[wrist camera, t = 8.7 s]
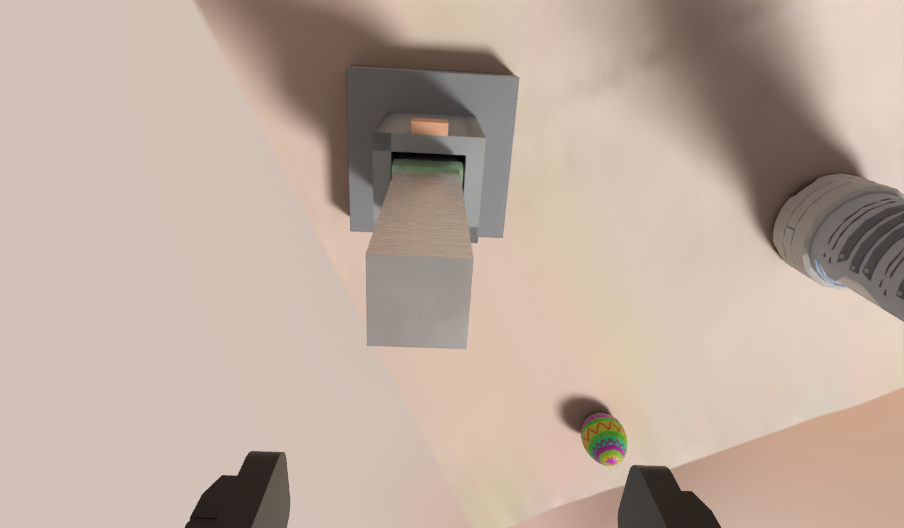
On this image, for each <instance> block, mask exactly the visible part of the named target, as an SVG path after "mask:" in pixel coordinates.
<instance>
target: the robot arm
mask: <svg viewBox="0 0 904 528" xmlns="http://www.w3.org/2000/svg"><path fill="white" fill-rule="evenodd" d="M289 512H290V493H289V482H288V472H287V462H286V455H285V453H284V452H259V451H251V452H249V453H248V455H247V456H246V458H245V460H244V463H243V465H242V467H241V469H240V471H239V474H238V475H237V476H225V475H222V476H221V477H220V478H219V479H218V480H217V481H216V482H215V483H214V484H212V486H210V487H209V488H208V489H207V490H206V491H205V492H204V493H203V494H202V496H201V498H200V500H199V501H198V503H197V505H196V507H195V509H194V511H193V513H192V515H191V517H190V521H189V522H188V523H187V524H186V526H185V528H287V524H288V518H289ZM618 528H721V526H720V525H719V523H718V521H717V519H716V518H715V516H714V514H713V512H712V511H711V510H710V509H709V508H708V507H707V506H706V505H705V504H704V503H703V502H702V501H701V500H700V499H699V498H698V497H697V496H696V495H695V494H694V493H693V492H692V491H681V490H680V488H679V486H678V484H677V482H676V480H675V478H674V476H673V474H672V473H671V471H670V470H669V469H668V468H667V467H665V466H643V465H633V466H632V467H631V468H630V471H629V474H628V477H627V481H626V485H625V489H624V492H623V495H622V499H621V503H620V506H619V511H618Z"/></svg>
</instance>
